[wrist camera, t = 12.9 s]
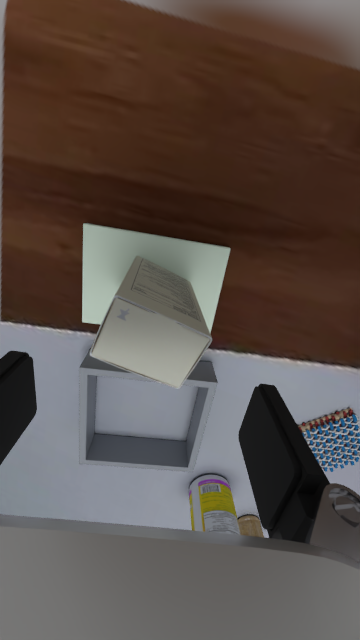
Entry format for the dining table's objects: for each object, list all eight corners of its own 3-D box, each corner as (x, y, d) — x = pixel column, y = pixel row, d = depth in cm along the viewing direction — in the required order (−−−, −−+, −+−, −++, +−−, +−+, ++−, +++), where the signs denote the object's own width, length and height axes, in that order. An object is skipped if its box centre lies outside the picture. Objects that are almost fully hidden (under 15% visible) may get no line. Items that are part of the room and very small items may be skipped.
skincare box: (119, 291, 25) (80, 355, 14) (137, 253, 24) (108, 290, 13) (175, 317, 27) (179, 394, 16) (194, 283, 25) (215, 339, 14)
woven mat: (350, 401, 35) (361, 412, 33) (360, 449, 39) (370, 461, 37) (279, 426, 36) (285, 438, 34) (296, 470, 40) (302, 482, 38)
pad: (228, 247, 25) (230, 248, 24) (207, 334, 29) (209, 338, 28) (86, 223, 24) (83, 223, 23) (85, 318, 28) (82, 322, 27)
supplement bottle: (209, 503, 42) (224, 617, 30) (180, 488, 40) (184, 603, 28) (238, 483, 40) (266, 596, 28) (209, 466, 38) (226, 579, 27)
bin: (211, 362, 31) (217, 382, 27) (190, 445, 36) (192, 472, 33) (90, 347, 29) (79, 367, 25) (88, 437, 35) (78, 463, 31)
